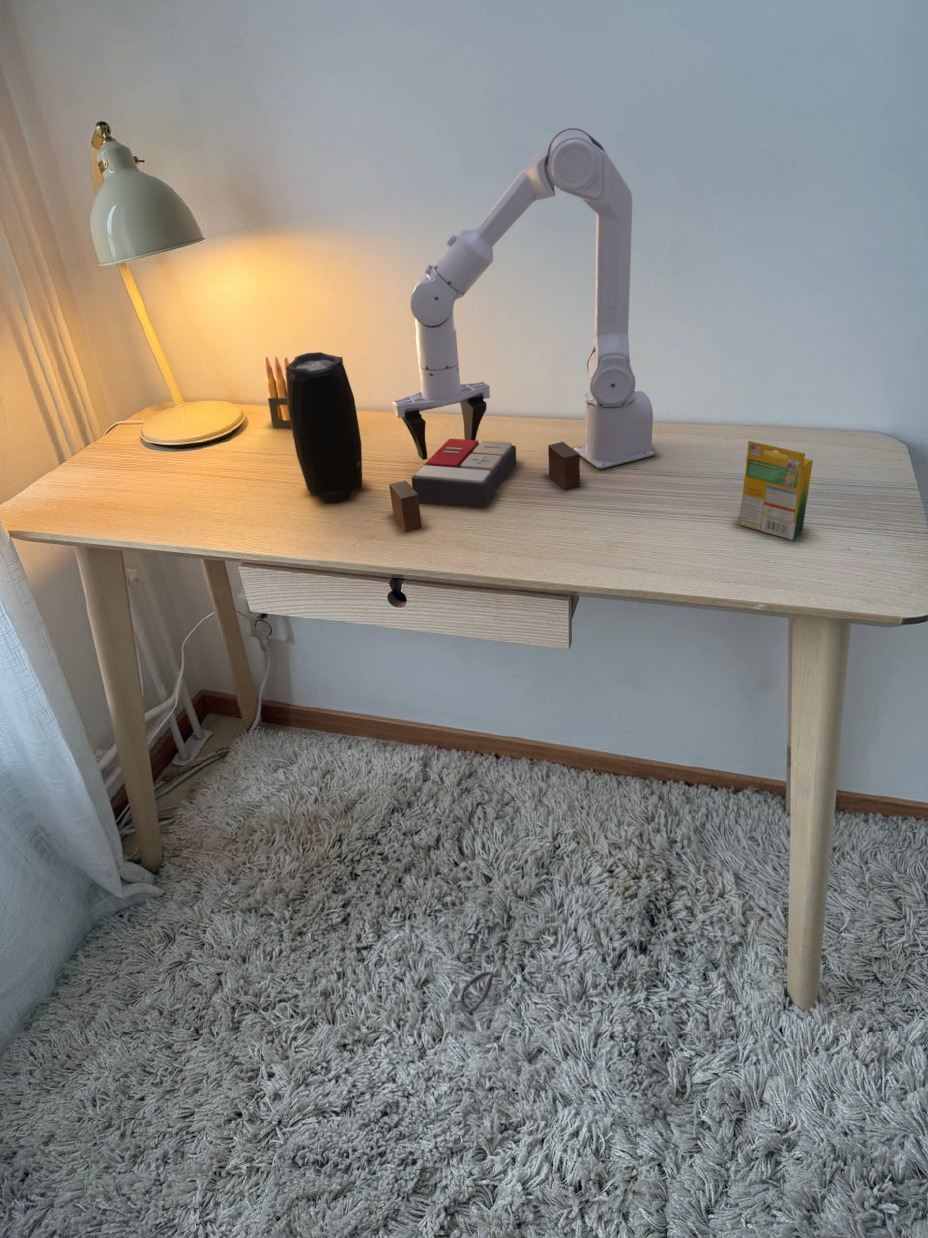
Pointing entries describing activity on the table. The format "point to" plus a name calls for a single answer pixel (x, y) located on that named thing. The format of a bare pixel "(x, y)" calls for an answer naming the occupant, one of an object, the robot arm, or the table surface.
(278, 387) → the ammunition clip
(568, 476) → the corner blocks
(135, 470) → the table surface
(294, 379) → the portable speaker
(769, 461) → the crayon box
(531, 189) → the robot arm
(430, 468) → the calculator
